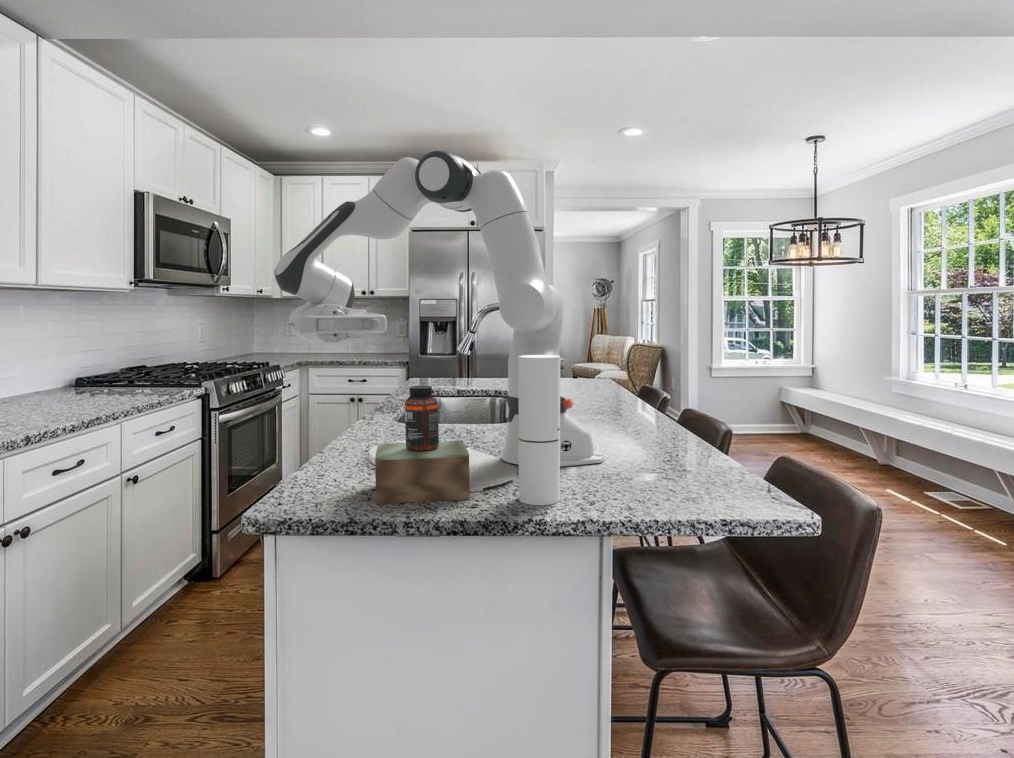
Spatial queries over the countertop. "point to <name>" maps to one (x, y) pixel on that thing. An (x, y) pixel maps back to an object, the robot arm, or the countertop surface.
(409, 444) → the supplement bottle
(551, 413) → the cylindrical container
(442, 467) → the block
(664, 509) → the countertop surface
